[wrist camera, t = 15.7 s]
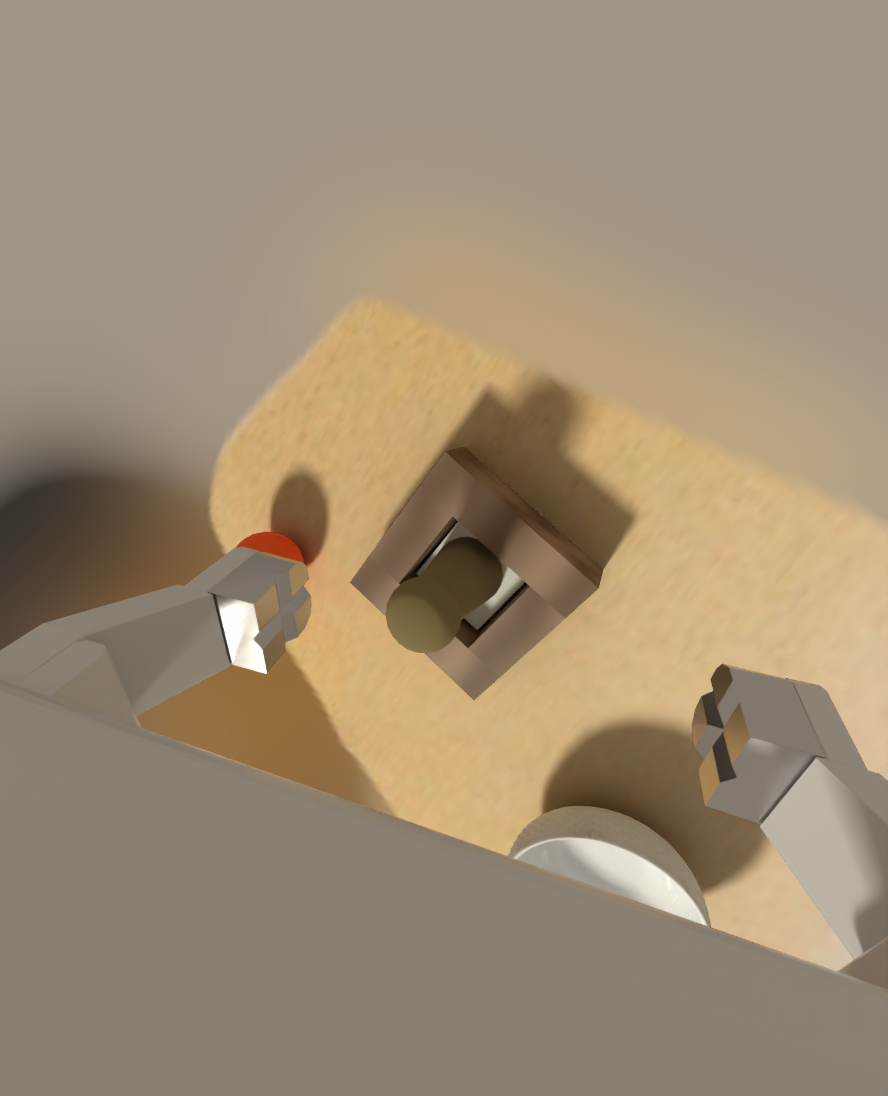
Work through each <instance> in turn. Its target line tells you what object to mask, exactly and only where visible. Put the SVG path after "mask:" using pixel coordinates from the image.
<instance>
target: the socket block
mask: <svg viewBox="0 0 888 1096" xmlns="http://www.w3.org/2000/svg"><path fill="white" fill-rule="evenodd" d="M457 521H458V522H459V523H460V524H462V525H463V526H464V527H465V528H466V529H467V530H468V531H469V532H470V533H472V534H473V535H474V536H475V537H476V538H477V539H478V540H479V541H480V542H481V543H483V544H484V545H485V546H486V547H487V548H488V549H489V550H490V551H491V552H492V553H494V554H495V555H496V556H497V557H498V558H499V559H500V560H501V561H502V562H504V563H505V564H506V565H507V566H508V567H509V568H510V569H511V570H512V571H513V572H515V573H516V574H517V575H518V576H519V577H520V578H521V579H522V580H523V581H524V582H526V583H527V584H526V585H525V586H524V587H523V588H522V589H521V590H520V591H519V592H518V593H517V594H516V595H515V596H514V597H513V598H512V599H511V600H510V601H509V602H508V603H507V604H506V605H505V606H504V607H503V608H502V609H501V610H500V611H499V612H498V613H497V614H496V615H495V616H494V617H493V618H492V619H491V620H490V621H489V622H488V623H487V624H486V625H485V626H484V627H483V628H482V627H480V628H479V629H478V630H476V629H475V628H474V627H473V626H472V625H471V624H470V623H469V622H468V621H467V620H466V619H465V618H463V619H462V620H461V624H460V628H459V631H458V632H457V634H456V636H455V637H454V639H453V640H452V642H451V643H449V644H448V645H447V646H445V647H444V648H443V649H441V650H439V651H436V652H432V653H425V654H426V655H427V656H428V657H429V658H430V659H431V660H432V661H433V662H434V663H435V664H436V665H437V666H438V667H439V668H441V669H442V670H443V671H444V672H445V673H446V674H447V675H448V676H449V677H450V678H451V679H452V680H453V681H454V682H455V683H456V684H457V685H458V686H459V687H460V688H462V689H463V690H464V691H465V692H466V693H467V694H468V695H469V696H470V697H471V698H472V699H473V700H475V699H476V698H477V697H478V696H480V695H481V694H482V693H483V692H484V691H485V690H486V689H487V688H488V687H490V686H491V685H492V684H493V683H494V682H495V681H496V680H497V679H498V678H500V677H501V676H502V675H503V674H504V673H505V672H506V671H507V670H508V669H510V668H511V667H512V666H513V665H514V664H515V663H516V662H517V661H518V660H520V659H521V658H522V657H523V656H524V655H525V654H526V653H527V652H528V651H530V650H531V649H532V648H533V647H534V646H535V645H536V644H537V643H538V642H540V641H541V640H542V639H543V638H544V637H545V636H546V635H547V634H548V633H550V632H551V631H552V630H553V629H554V628H555V627H556V626H557V625H558V624H560V623H561V622H562V621H563V620H564V619H565V618H566V617H567V616H568V615H570V614H571V613H572V612H573V611H574V610H575V609H576V608H577V607H578V606H580V605H581V604H582V603H583V602H584V601H585V600H586V599H587V598H588V597H590V596H591V595H592V594H593V593H594V592H595V591H596V590H597V589H598V588H599V585H600V581H601V577H602V572H603V570H602V569H601V568H600V567H599V566H598V565H597V564H595V563H594V562H593V561H592V560H591V559H590V558H589V557H587V556H586V555H585V554H584V553H583V552H582V551H581V550H580V549H578V548H577V547H576V546H575V545H574V544H573V543H572V542H570V541H569V540H568V539H567V538H566V537H565V536H564V535H563V534H561V533H560V532H559V531H558V530H557V529H556V528H555V527H553V526H552V525H551V524H550V523H549V522H548V521H547V520H546V519H544V518H543V517H542V516H541V515H540V514H539V513H538V512H536V511H535V510H534V509H533V508H532V507H531V506H530V505H529V504H527V503H526V502H525V501H524V500H523V499H522V498H521V497H520V496H518V495H517V494H516V493H515V492H514V491H513V490H512V489H510V488H509V487H508V486H507V485H506V484H505V483H504V482H503V481H501V480H500V479H499V478H498V477H497V476H496V475H495V474H493V473H492V472H491V471H490V470H489V469H488V468H487V467H486V466H484V465H483V464H482V463H481V462H480V461H479V460H478V459H476V458H475V457H474V456H473V455H472V454H471V453H470V452H469V451H467V450H466V449H465V448H464V447H461V448H457V449H453V450H450V451H446V452H444V454H443V455H442V457H441V458H440V459H439V461H438V462H437V463H436V465H435V466H434V468H433V469H432V470H431V472H430V473H429V474H428V476H427V477H426V479H425V480H424V481H423V483H422V484H421V485H420V487H419V488H418V490H417V491H416V492H415V494H414V495H413V496H412V498H411V499H410V501H409V502H408V503H407V505H406V506H405V507H404V509H403V510H402V512H401V513H400V514H399V516H398V517H397V518H396V520H395V521H394V523H393V524H392V525H391V527H390V528H389V529H388V531H387V532H386V533H385V535H384V536H383V538H382V539H381V540H380V542H379V543H378V544H377V546H376V547H375V549H374V550H373V551H372V553H371V554H370V555H369V557H368V558H367V560H366V561H365V562H364V564H363V565H362V566H361V568H360V569H359V571H358V572H357V573H356V575H355V576H354V577H353V579H352V580H351V582H350V583H351V584H352V585H353V586H354V587H355V588H357V589H358V590H359V591H360V592H361V593H362V594H363V595H364V596H365V597H366V598H367V599H368V600H369V601H370V602H371V603H372V604H373V605H374V606H375V607H376V608H378V609H379V610H380V611H381V612H382V613H383V614H384V615H385V616H386V607H387V603H388V601H389V598H390V596H391V594H392V593H393V591H394V590H395V589H396V588H397V587H398V586H399V585H401V584H402V583H403V582H405V581H407V580H410V579H412V578H416V577H419V576H418V575H417V574H416V573H417V572H418V571H419V570H420V569H419V567H420V566H421V565H422V564H423V562H424V561H425V560H426V559H427V558H428V556H429V555H430V554H431V553H432V551H433V550H434V549H435V548H436V547H437V545H438V544H439V543H440V542H441V540H442V539H443V538H444V537H445V535H446V534H447V533H448V532H449V531H450V529H451V528H452V527H453V526H454V524H455V523H456V522H457Z"/></svg>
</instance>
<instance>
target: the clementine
mask: <svg viewBox="0 0 888 1096" xmlns="http://www.w3.org/2000/svg"><path fill="white" fill-rule="evenodd" d="M237 547H246V548H249V549H253V550H257V551H260V552H266V553H270V554H273V555H277V556H281V557H285V558H288V559H292V560H296V561H300V562H302V563H304V559H303V556H302V553H301V551H300V549H299V548H298V546H297V545H296V544H295V543H294V542H293V541H291V540H290V539H289V538H287V537H286V536H284V535H281V534H279V533H274V532H262V533H257V534H253V535H251V536H249V537H247V538H245V539H244V540H243V541H241V542H240V543H239V544H238V546H237ZM237 547H236V548H237Z"/></svg>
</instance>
